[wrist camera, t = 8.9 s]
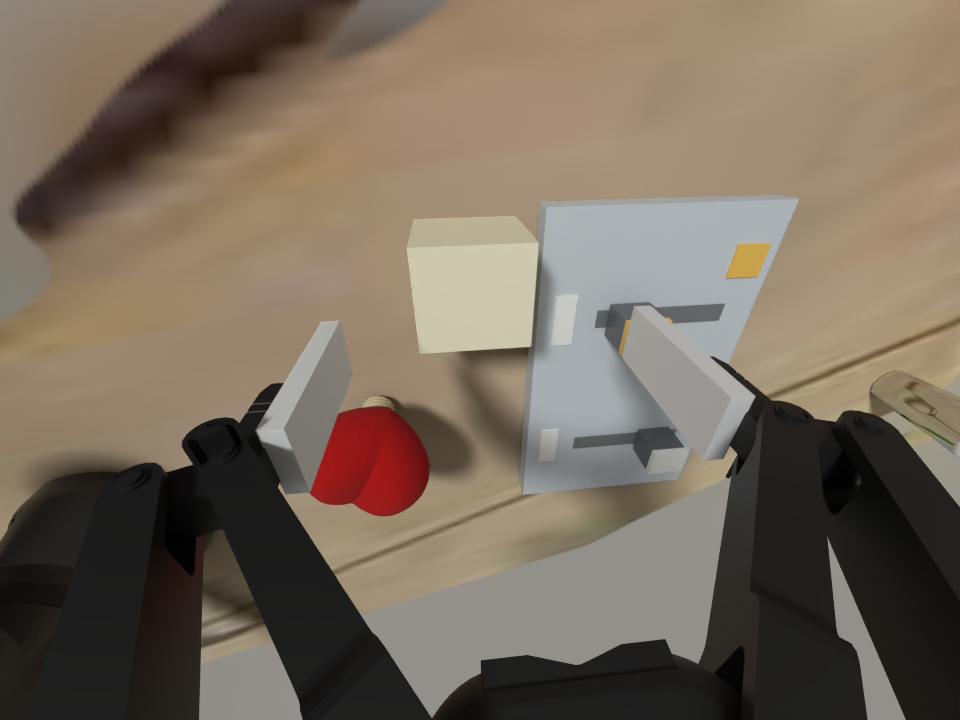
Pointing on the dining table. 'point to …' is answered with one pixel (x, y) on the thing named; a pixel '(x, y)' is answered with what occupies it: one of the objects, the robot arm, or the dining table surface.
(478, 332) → the cap
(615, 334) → the breaker
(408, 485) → the light bulb
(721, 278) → the panel
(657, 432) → the breaker
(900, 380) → the milkshake
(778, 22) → the dining table surface
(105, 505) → the robot arm
